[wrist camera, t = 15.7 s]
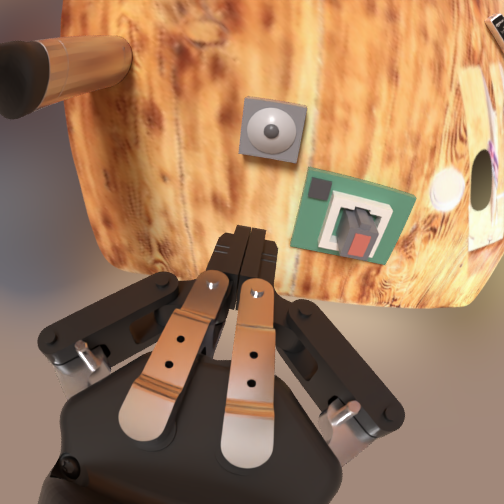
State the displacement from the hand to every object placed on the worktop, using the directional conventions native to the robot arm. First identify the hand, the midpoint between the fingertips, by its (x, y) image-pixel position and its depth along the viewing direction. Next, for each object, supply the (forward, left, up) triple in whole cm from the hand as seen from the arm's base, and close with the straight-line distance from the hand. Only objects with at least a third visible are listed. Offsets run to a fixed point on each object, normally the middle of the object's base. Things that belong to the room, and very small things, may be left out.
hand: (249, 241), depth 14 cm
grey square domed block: (-1, 0, -27) cm, 27 cm away
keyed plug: (+14, -12, -26) cm, 32 cm away
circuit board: (+14, -12, -27) cm, 33 cm away
